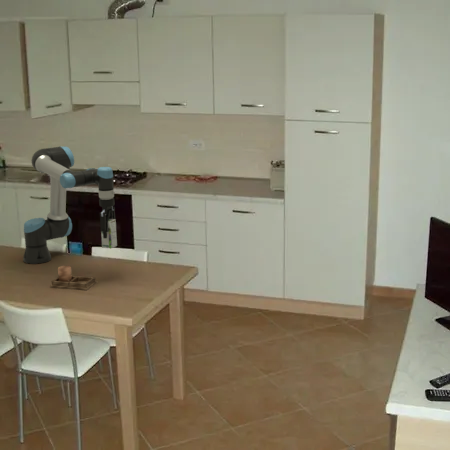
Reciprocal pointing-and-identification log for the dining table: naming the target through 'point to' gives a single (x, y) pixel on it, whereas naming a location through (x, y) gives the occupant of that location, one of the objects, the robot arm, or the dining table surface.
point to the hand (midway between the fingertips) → (109, 242)
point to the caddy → (71, 280)
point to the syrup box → (111, 234)
